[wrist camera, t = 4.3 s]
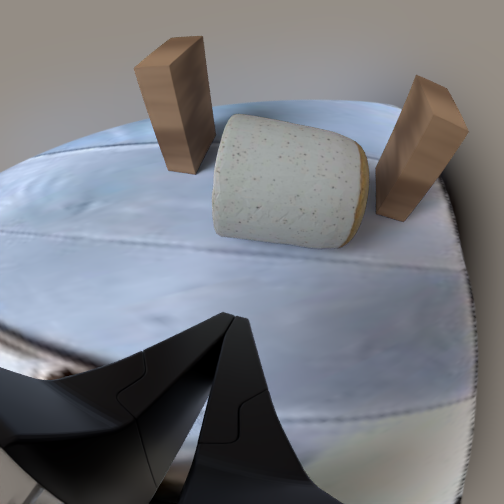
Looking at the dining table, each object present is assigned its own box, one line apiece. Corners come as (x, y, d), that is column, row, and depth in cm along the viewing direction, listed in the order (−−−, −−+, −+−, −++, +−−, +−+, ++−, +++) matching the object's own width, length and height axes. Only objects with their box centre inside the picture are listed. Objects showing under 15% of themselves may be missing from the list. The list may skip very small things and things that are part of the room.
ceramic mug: (340, 271, 18) (386, 203, 11) (218, 257, 18) (198, 180, 11) (335, 157, 22) (356, 84, 15) (242, 146, 23) (239, 70, 16)
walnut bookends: (403, 221, 19) (468, 131, 10) (168, 170, 22) (133, 68, 13) (400, 175, 21) (447, 88, 12) (190, 132, 24) (171, 37, 15)
